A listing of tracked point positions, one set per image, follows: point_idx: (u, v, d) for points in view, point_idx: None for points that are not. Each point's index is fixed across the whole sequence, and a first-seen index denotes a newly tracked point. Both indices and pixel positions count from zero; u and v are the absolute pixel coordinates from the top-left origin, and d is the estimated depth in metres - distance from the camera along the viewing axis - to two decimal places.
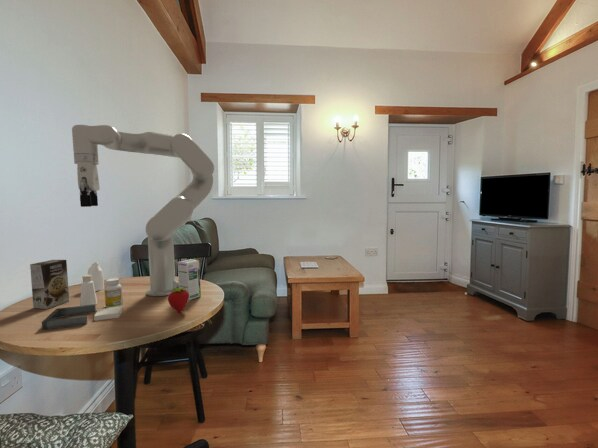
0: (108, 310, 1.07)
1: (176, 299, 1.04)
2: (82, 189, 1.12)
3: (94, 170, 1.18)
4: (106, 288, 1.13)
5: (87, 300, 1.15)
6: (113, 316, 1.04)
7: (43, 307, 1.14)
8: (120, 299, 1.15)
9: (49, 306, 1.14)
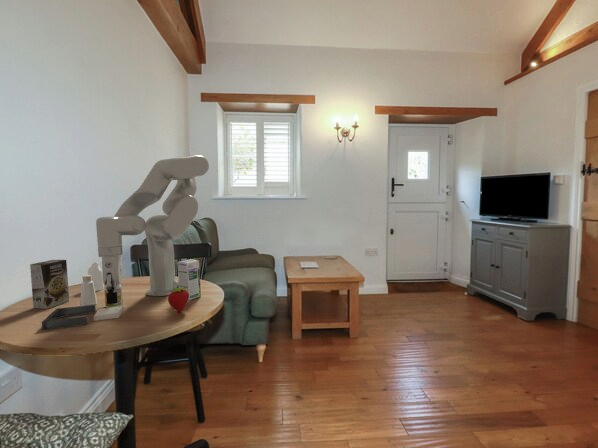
0: (109, 310, 1.07)
1: (176, 299, 1.04)
2: (109, 288, 1.10)
3: (119, 262, 1.14)
4: None
5: (87, 300, 1.15)
6: (113, 316, 1.04)
7: (43, 307, 1.14)
8: (120, 299, 1.15)
9: (49, 306, 1.14)
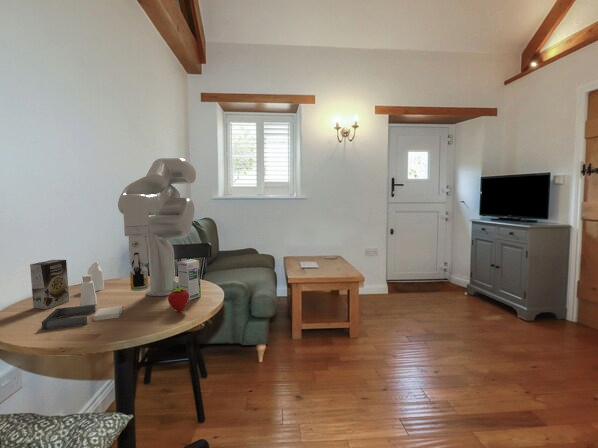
0: (109, 310, 1.07)
1: (176, 299, 1.04)
2: (136, 269, 1.03)
3: (146, 242, 1.07)
4: (132, 270, 1.06)
5: (87, 300, 1.15)
6: (113, 316, 1.04)
7: (43, 307, 1.14)
8: (146, 282, 1.08)
9: (49, 306, 1.14)
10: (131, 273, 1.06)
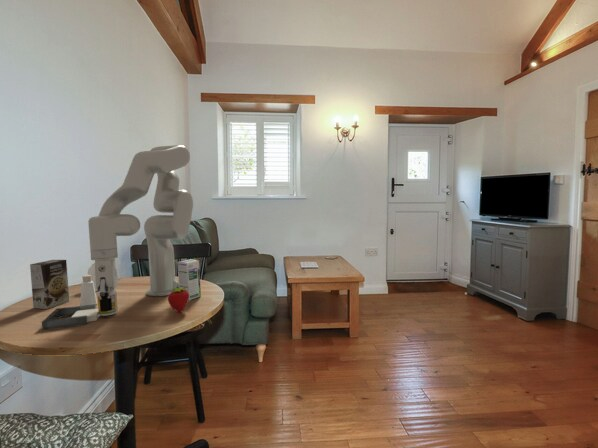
0: (86, 312, 1.05)
1: (176, 299, 1.04)
2: (103, 294, 1.00)
3: (113, 266, 1.05)
4: (99, 294, 1.04)
5: (87, 300, 1.15)
6: (90, 318, 1.02)
7: (43, 307, 1.14)
8: (115, 306, 1.06)
9: (49, 306, 1.14)
10: (98, 297, 1.04)
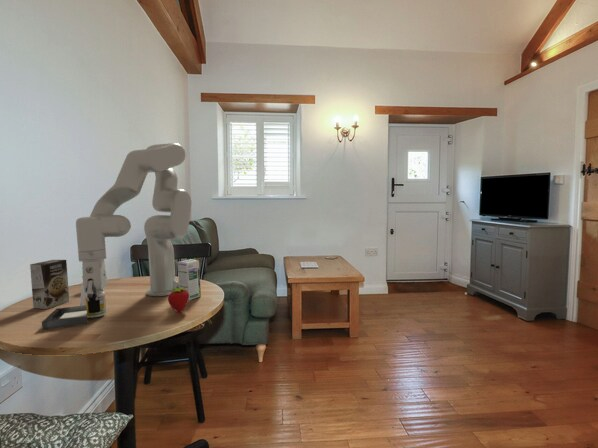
0: (74, 314, 1.04)
1: (176, 299, 1.04)
2: (90, 296, 0.99)
3: (101, 267, 1.03)
4: None
5: None
6: None
7: (43, 307, 1.14)
8: (103, 307, 1.05)
9: (49, 306, 1.14)
10: (86, 299, 1.03)
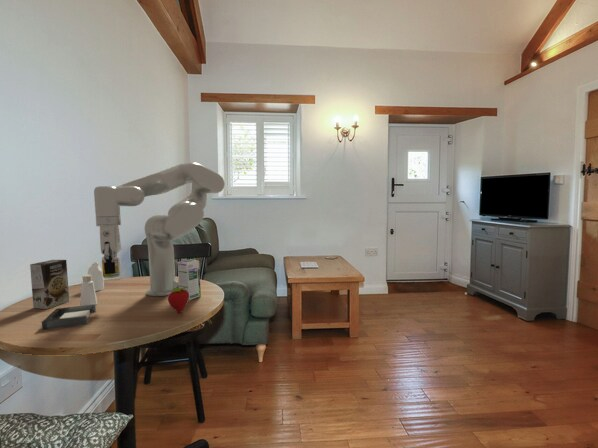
0: (74, 314, 1.04)
1: (176, 299, 1.04)
2: (107, 257, 1.09)
3: (117, 232, 1.13)
4: (103, 258, 1.12)
5: (87, 300, 1.15)
6: None
7: (43, 307, 1.14)
8: (117, 270, 1.14)
9: (49, 306, 1.14)
10: (103, 261, 1.12)
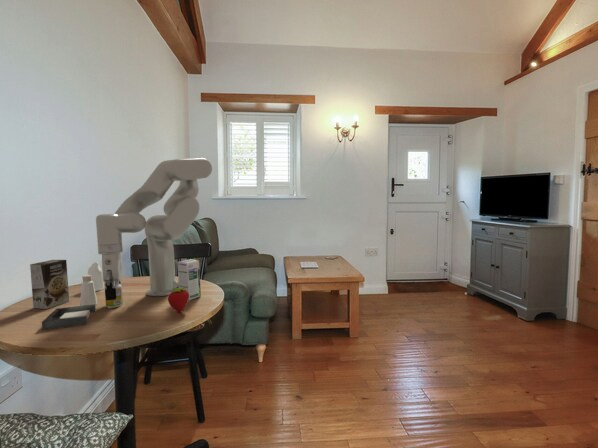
0: (74, 314, 1.04)
1: (176, 299, 1.04)
2: (108, 284, 1.08)
3: (119, 259, 1.14)
4: None
5: (87, 300, 1.15)
6: None
7: (43, 307, 1.14)
8: (120, 299, 1.16)
9: (49, 306, 1.14)
10: None
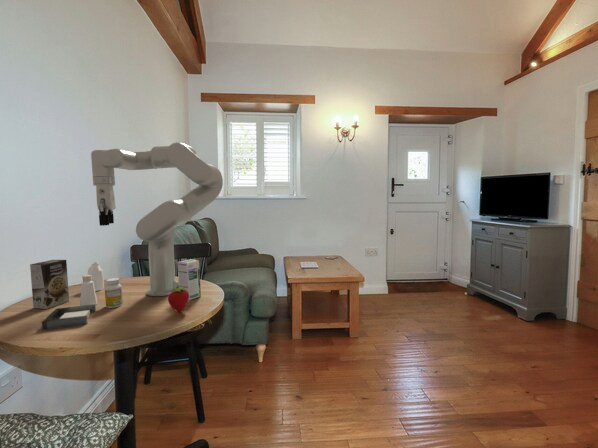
0: (74, 314, 1.04)
1: (176, 299, 1.04)
2: (101, 210, 1.22)
3: (111, 191, 1.28)
4: (106, 288, 1.13)
5: (87, 300, 1.15)
6: None
7: (43, 307, 1.14)
8: (120, 299, 1.16)
9: (49, 306, 1.14)
10: (105, 291, 1.13)
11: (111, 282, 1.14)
